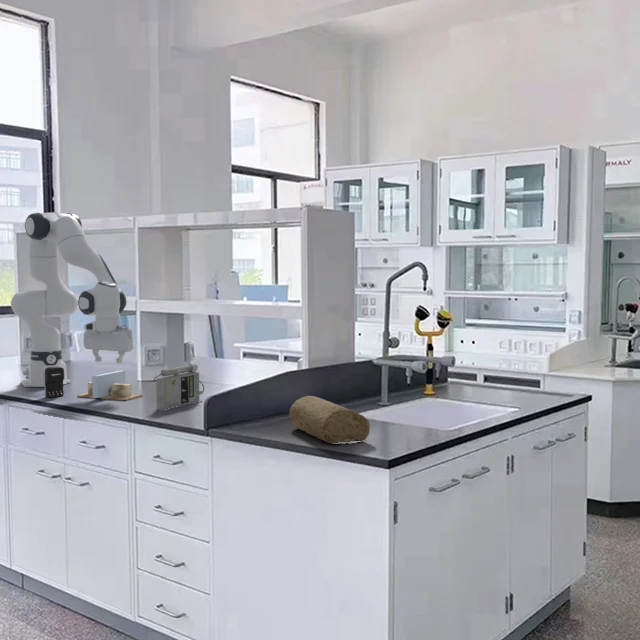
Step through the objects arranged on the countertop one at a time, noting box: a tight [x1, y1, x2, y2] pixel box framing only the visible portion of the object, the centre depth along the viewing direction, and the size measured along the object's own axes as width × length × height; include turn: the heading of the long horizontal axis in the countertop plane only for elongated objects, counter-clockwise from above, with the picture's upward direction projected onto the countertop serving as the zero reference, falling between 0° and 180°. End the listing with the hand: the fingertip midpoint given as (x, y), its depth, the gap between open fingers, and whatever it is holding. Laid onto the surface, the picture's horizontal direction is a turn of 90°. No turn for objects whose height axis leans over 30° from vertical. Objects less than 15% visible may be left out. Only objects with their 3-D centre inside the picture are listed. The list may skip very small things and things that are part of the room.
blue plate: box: [91, 370, 126, 399], centre depth 278 cm, size 16×2×8 cm, turn 158°
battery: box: [43, 366, 65, 398], centre depth 279 cm, size 7×4×11 cm, turn 132°
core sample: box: [289, 395, 371, 444], centre depth 213 cm, size 14×26×10 cm, turn 26°
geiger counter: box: [153, 362, 205, 411], centre depth 262 cm, size 14×6×25 cm
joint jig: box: [76, 381, 143, 401], centre depth 279 cm, size 22×10×5 cm, turn 68°
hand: (108, 362), depth 278 cm, fingers open, 8 cm apart
